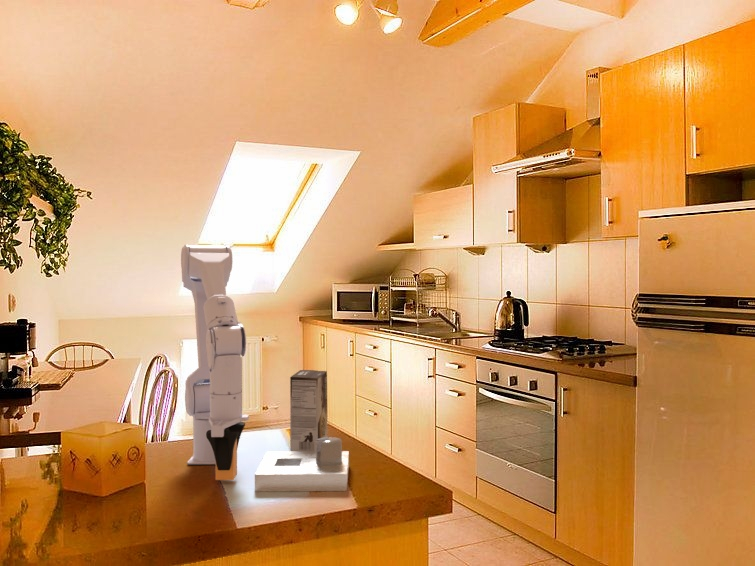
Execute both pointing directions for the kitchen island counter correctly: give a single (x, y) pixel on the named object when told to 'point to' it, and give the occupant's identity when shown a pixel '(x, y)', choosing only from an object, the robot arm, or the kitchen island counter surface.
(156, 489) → the kitchen island counter surface
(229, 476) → the orange rectangular block
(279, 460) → the white base platform
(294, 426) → the coffee box
